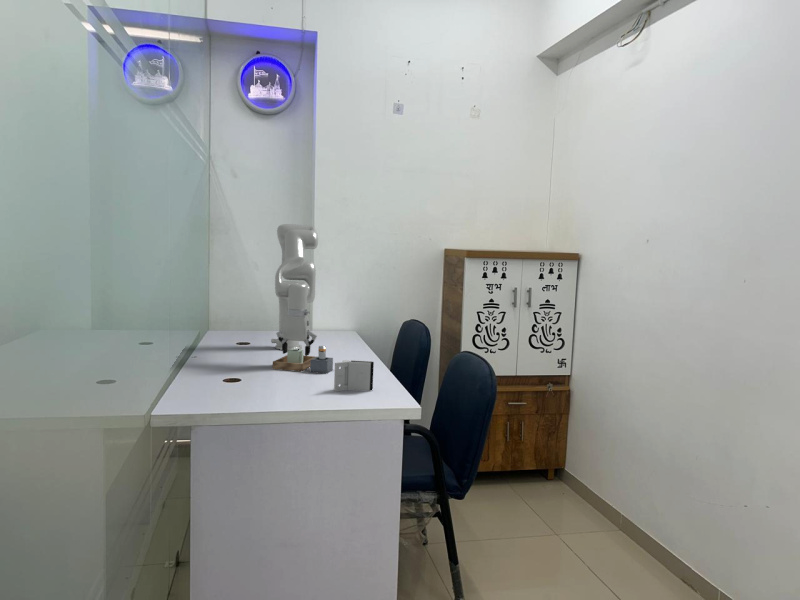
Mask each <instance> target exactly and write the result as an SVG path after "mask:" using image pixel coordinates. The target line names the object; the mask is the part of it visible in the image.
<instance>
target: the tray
mask: <svg viewBox="0 0 800 600" xmlns="http://www.w3.org/2000/svg"><path fill="white" fill-rule="evenodd" d="M315 357H316V356H314V355H313V356H312V355H307V356H305V355H303V363H302V364H299V363H288V362H287V355H286V354H285V355H284V356H283V357H280V358H278V359H276V360H273V361H272V370H278V369H282V370H281V371H289V370H294V371H293V372H301V371H303V372H305V371H306V370H307V368H308V369H310V368H309V367H310V364H311V359H313V358H315ZM305 369H306V370H305Z"/></svg>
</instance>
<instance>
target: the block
mask: <svg viewBox="0 0 800 600" xmlns="http://www.w3.org/2000/svg"><path fill="white" fill-rule="evenodd" d="M333 368H334V357H327V356H326V357H325V360H318V356H315V358H313V359H311V364H310V368H309V370H310V371H309V372H310V373H314V372H318V373H317V374H326V373H327V374H329V373H330V372H332V371H333V370H334V369H333Z"/></svg>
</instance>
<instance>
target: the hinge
mask: <svg viewBox="0 0 800 600" xmlns="http://www.w3.org/2000/svg"><path fill="white" fill-rule="evenodd" d="M374 363H375V362H374V361H373V360H355V359H354V360H352V359H350V360H347V359H345V360H342V361H340V362H339V361H338V362H334V375H333V376H334V383H333V391H334V392H340V391H358V390H367V391H366V392H370V390H372V389H373V388H374V366H375V365H374ZM372 391H373V390H372Z"/></svg>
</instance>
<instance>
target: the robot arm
mask: <svg viewBox="0 0 800 600" xmlns="http://www.w3.org/2000/svg"><path fill="white" fill-rule="evenodd" d="M276 229H277V230H276V235H277V239H278V242H279V244H280V247H281V264H280V265H279V266H278V268H277V270H276V271H275V276H274V289H275V290H274V291H275V292H274V293H275V296H276V297H277V298H278V305H279V306H278V308H279V311H278V313H279V314H278V317H279V318H278V319H279V320H278V321H279V322H278V332H276V336H277V339H276V338H271V339H270V342H271V344H275V347H274V348H275V349H276V350H279V349H280V351H282V354H284V355H286V354H287V353H288V351H289V350H291V349H299V350H302V349H303V346H302V344H300V342H303V343H304V344H305V346H304V356H310V353H311V345H312V344H314V343H315V341H316V339H317V337H318V336H317V334H315V333H313V332H312V331H311V329H310V328H311V325H310V319H309V316H308V315H310V311H309V310H308V308H307V305H308V304H311V303H313V302H314V300H315V297H316V274H317V273H316V271H317V270H316V265H315V263H314V262H313V261H311V260H306V254H305V252H306V250H315V249H317V247H318V244H319V236H318V232H317V230H316V228H315V226H313V225H310V224H309V225H308V224H293V223H292V224H291V223H289V224H288V223H286V224H280V225H278V227H277V228H276ZM282 278H283V279H284V280H283V279H282ZM310 337H311V340H310Z"/></svg>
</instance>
